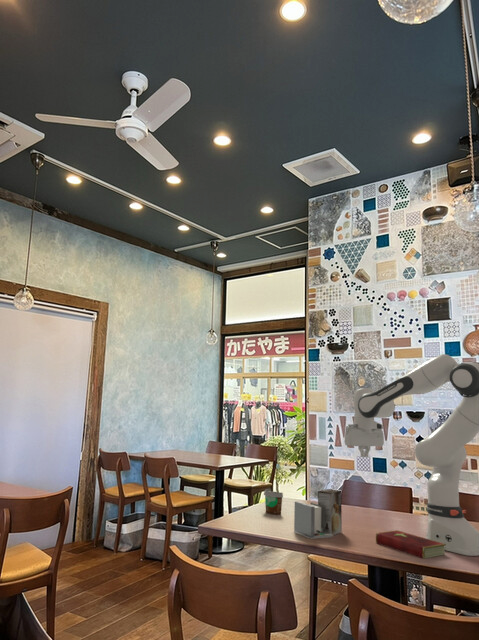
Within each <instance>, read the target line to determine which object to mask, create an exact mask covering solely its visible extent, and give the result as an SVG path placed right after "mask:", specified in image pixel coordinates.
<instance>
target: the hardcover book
mask: <svg viewBox="0 0 479 640" xmlns="http://www.w3.org/2000/svg"><path fill="white" fill-rule="evenodd" d="M375 543H376V544H379V545H381V546H384V547H388V548H391V549H393V550H396V551H399V552H403V553H406V554H407V555H411V556H415V557H418V558H420V559H423V560H425V559H428V558H435V557H439V556H444V555H445V553H446V552H445V550H444V546H445V545H446V544H444V543H440V542H437V541H433V540H430V539H426V537H423V536H422V537H421V536H419V535H416V534H412V533H409V532H404V531H403V530H397V529H395V530H388V531H381V532H376V533H375Z"/></svg>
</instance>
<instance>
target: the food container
mask: <svg viewBox="0 0 479 640" xmlns="http://www.w3.org/2000/svg"><path fill="white" fill-rule="evenodd" d="M263 496H264V497H265V498H264V500H265V501H264V503H265V514H267V515H268V514H269V515H272V516H278V515H279V516H281V515H282V506H283V505H282V504H283V498H284V493H283V492H278V491H274V490H272V488H266V489H264V492H263Z"/></svg>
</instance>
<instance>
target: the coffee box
mask: <svg viewBox="0 0 479 640" xmlns="http://www.w3.org/2000/svg"><path fill="white" fill-rule="evenodd" d="M317 504H319V505H322V506H325V528H321V533H326V532H329V533H332V534H333V536H335V535H338V534H340V533H342V532H343V528H342V527H343V526H342V525H343V521H342V520H343V519H342V517H343V516H342V515H343V514H342V513H343V512H342V490H340V489H339V490H337V489H329V488H326V489H322V490H318V491H317Z"/></svg>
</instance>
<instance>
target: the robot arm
mask: <svg viewBox="0 0 479 640" xmlns="http://www.w3.org/2000/svg"><path fill="white" fill-rule="evenodd" d="M447 383H450V384H451V385H452V387H453V388H454V389H455V390H456V391H457V392H458V394H459V395H460V396H461V397H463V398H462V400H461V401H460V402H459V403H458V405H457V406H456V408H455V409H454V410H453V411H452V413H451V414H450V415H449V416H448V418H447V419H446V420H445V421H444V422H443V423H442V424H441V425H440V426H439V427H438V428H436V429H435V430H434V431H433V432H432V433H430V435H428V436H427V437H426V438H424V439H422V440H420V441H419V442H417V444H416V445H415V447H414V454H415V458H416V460H417V461H418V462H419V463H420V464H421V465H423V466H426V467H429V468H432V472H431V475H430V477H429V478H428V481H427V485H426V486H427V503H426V513H427V515H428V516H427V517H428V520H427V522H428V523H427V529H426V530H427V531H426V535H425V538H426V539H430V540H433V541H437V542H440V543H444V544H446V545H445V546H444V551H448V552H450V553H451V552H452V553H456V554H458V555H459V554H460V555H463V556H469V557H470V556H471V557H473V556H475V557H478V556H479V531H478V529H476V527H474V525H472V524H471V523H470V522H469V521H468V520H467V519H466V518H465V515H464V514H467V509H462V507H461V506H460V494H459V493H460V492H459V485H460V484H459V483H460V476H461V472H462V467H463V464H464V463H465V461H466V460H467V449H466V448H465V445H467V444H469V443H470V442H472V441H473V440H474V438H475V437H476V436H477V435H478V434H479V362H472V361H469V362H461V363H458V362H457V361H456V360H455V358H453V357H452V356H450V354H443V353H442V354H440V355H436V356H435V357H432V358H430V359H428V360H427V361H425V362H423V363H422V364H420V365H419V366H417V367H415V368H414V369H413V370H411V371H410V372H408V373H407V374H404V375H403V376H402V377H400V378H398V379H395V380H394V381H393V382H390V383H388V384H387V385H385V386H383V387H382V388H380V389H378V390H376V391H375V390H374V389H373V388H371V387H361V388H358V389H357V390H355V392H354V396H353V410H354V414H353V424H351V423H350V424H347V425H346V427H345V432H344V433H345V434H344V444H345V446H349V447H358V450H359V453H360V457H361V458H369V453H370V451H371V447H383V446H384V444H385V435H384V431H383V429H384V425H383V424H382V423H380V422H378V421H376V420H375V418H376V419H380V418H381V419H383V418H384V419H387V418H389V417H392V416H393V414H394V413H395V409H396V404H395V400H396V399H398V398H400V397H403V396H409V395H425V394H428V393H431V392H433V391H436V390H437V389H439V388H440V387H441V386H442V387H443V385H445V384H447ZM364 449H365V450H364Z"/></svg>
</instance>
